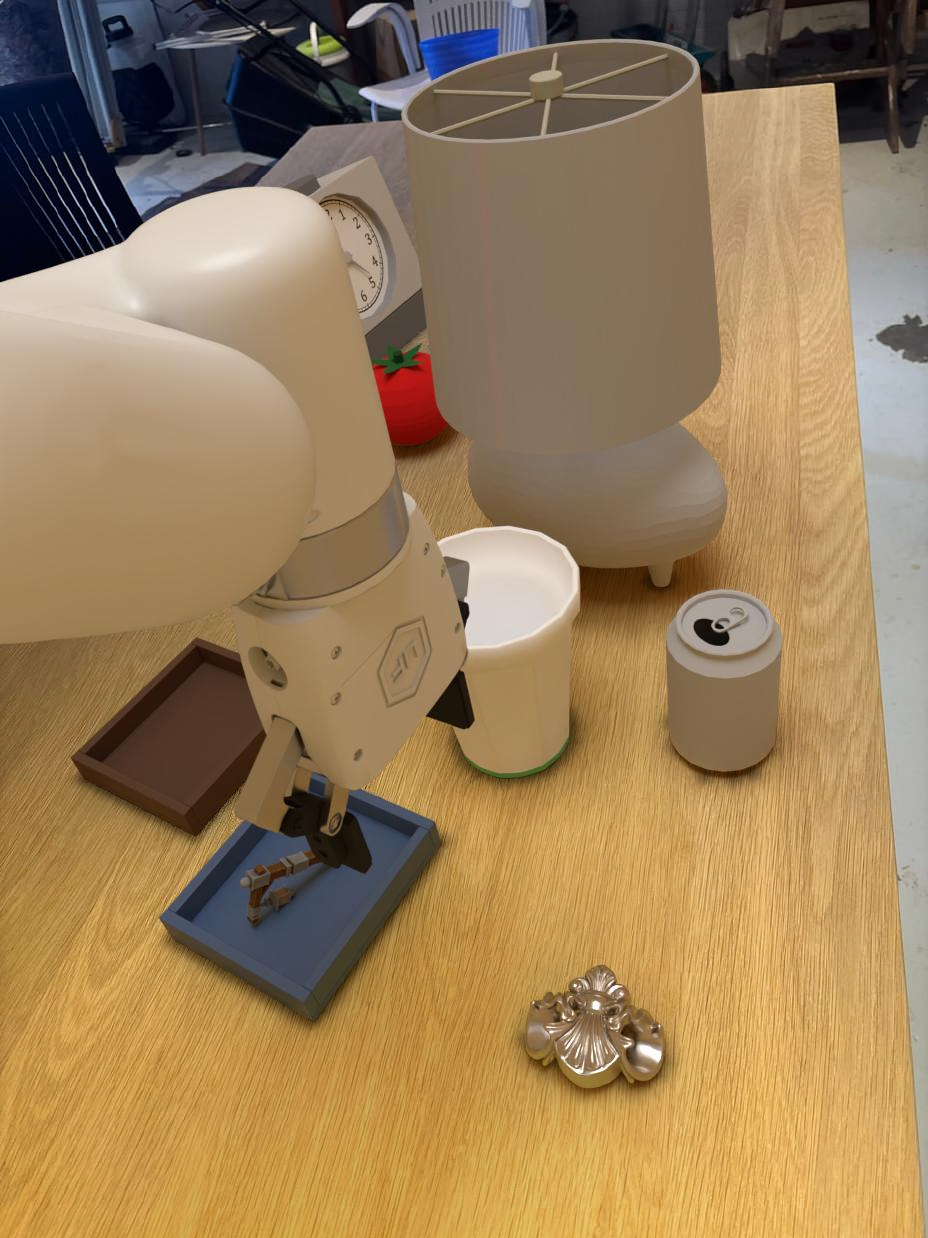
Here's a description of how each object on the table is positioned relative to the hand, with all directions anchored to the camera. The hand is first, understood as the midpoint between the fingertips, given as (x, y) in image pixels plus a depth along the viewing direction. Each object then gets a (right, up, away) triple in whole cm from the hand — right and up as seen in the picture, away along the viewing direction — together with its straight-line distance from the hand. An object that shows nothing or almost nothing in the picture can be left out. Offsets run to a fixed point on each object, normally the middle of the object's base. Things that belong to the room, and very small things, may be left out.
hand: (399, 785), depth 52 cm
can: (+22, 0, +22) cm, 31 cm away
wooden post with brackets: (-7, -10, +18) cm, 22 cm away
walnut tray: (-18, -1, +30) cm, 35 cm away
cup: (+7, 0, +26) cm, 27 cm away
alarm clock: (-11, +43, +77) cm, 89 cm away
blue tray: (-7, -10, +18) cm, 22 cm away
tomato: (-2, +28, +59) cm, 65 cm away
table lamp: (+15, +13, +38) cm, 43 cm away
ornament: (+11, -16, +8) cm, 21 cm away
